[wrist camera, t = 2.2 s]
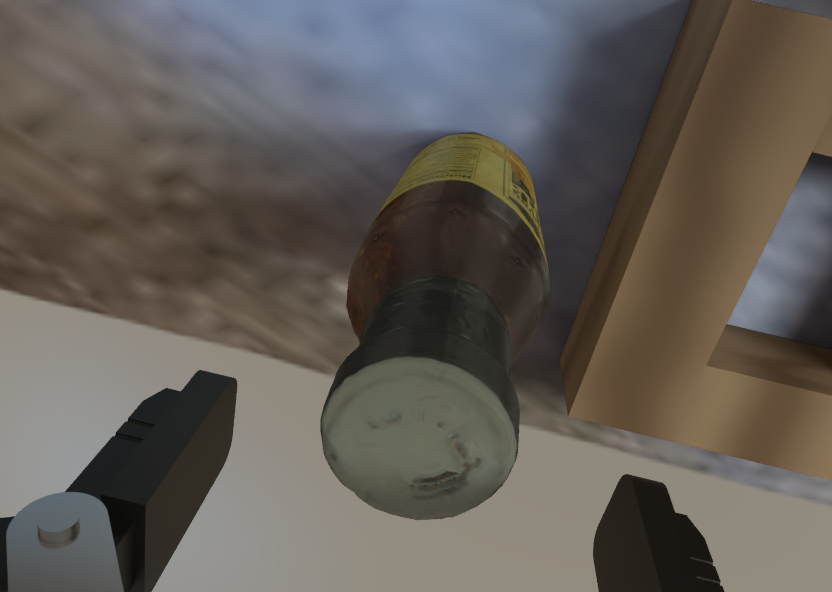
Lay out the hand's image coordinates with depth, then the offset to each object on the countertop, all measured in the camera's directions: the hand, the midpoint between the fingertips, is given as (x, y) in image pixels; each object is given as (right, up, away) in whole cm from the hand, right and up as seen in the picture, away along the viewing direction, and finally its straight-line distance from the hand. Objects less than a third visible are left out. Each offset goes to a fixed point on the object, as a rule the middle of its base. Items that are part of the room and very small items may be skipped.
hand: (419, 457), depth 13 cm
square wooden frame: (+18, +6, +17) cm, 25 cm away
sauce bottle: (+2, +9, +18) cm, 20 cm away
